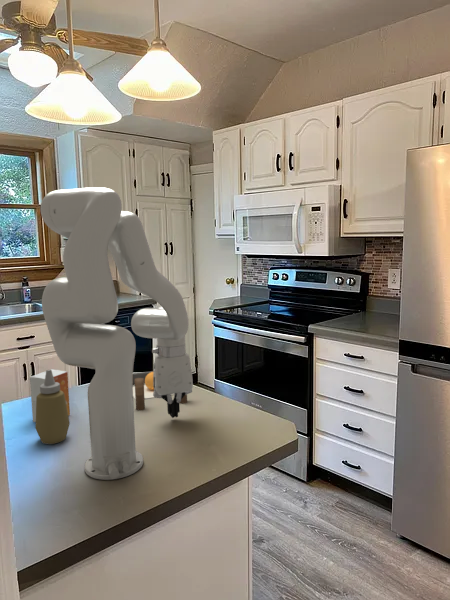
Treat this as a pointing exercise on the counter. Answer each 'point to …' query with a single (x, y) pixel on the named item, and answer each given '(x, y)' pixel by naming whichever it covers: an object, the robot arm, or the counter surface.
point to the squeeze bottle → (51, 412)
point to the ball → (149, 381)
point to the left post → (139, 394)
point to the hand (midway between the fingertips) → (173, 415)
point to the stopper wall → (140, 376)
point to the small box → (40, 379)
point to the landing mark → (146, 393)
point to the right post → (184, 399)
